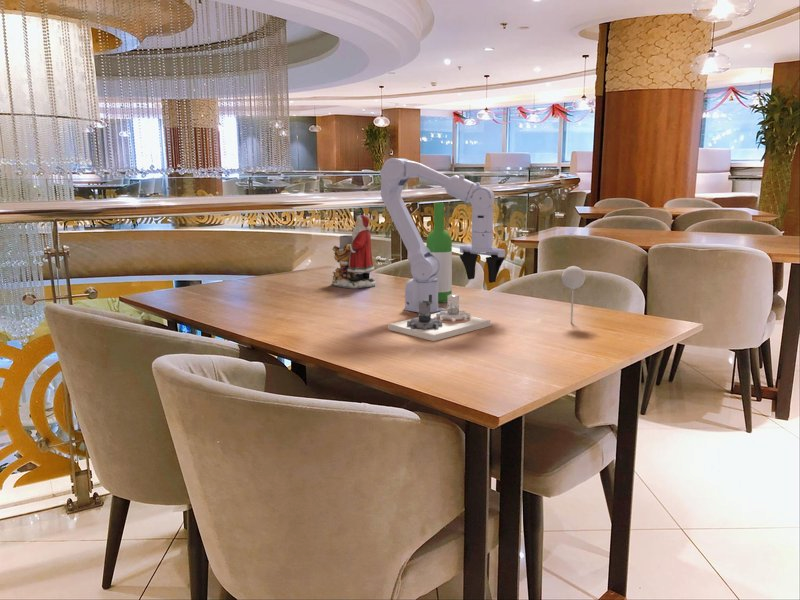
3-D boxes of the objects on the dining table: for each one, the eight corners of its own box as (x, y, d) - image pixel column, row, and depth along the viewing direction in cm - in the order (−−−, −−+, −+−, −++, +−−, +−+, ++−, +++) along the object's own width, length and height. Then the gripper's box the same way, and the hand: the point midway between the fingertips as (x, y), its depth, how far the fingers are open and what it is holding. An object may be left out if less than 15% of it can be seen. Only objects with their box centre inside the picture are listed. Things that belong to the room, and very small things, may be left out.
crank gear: (399, 325, 163) (399, 293, 161) (424, 320, 168) (424, 289, 167) (424, 332, 156) (424, 298, 155) (449, 325, 162) (449, 293, 161)
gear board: (388, 329, 165) (388, 323, 165) (444, 316, 179) (444, 310, 179) (433, 341, 154) (433, 334, 153) (490, 325, 168) (490, 319, 167)
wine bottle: (451, 298, 204) (452, 201, 198) (451, 303, 196) (451, 203, 190) (427, 298, 204) (426, 202, 198) (425, 303, 197) (425, 203, 191)
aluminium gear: (429, 318, 170) (429, 295, 169) (452, 312, 176) (452, 291, 174) (453, 323, 163) (453, 300, 162) (477, 318, 169) (477, 295, 168)
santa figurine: (325, 283, 233) (323, 213, 228) (360, 279, 240) (360, 212, 234) (343, 291, 219) (342, 217, 213) (381, 287, 225) (380, 215, 220)
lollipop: (566, 326, 166) (568, 268, 163) (555, 321, 172) (557, 265, 169) (587, 324, 168) (590, 267, 165) (576, 319, 174) (578, 264, 171)
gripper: (452, 231, 180) (452, 279, 183) (493, 234, 169) (492, 285, 172) (469, 229, 185) (468, 276, 187) (510, 232, 174) (509, 282, 177)
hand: (481, 280), depth 180 cm, fingers open, 7 cm apart
